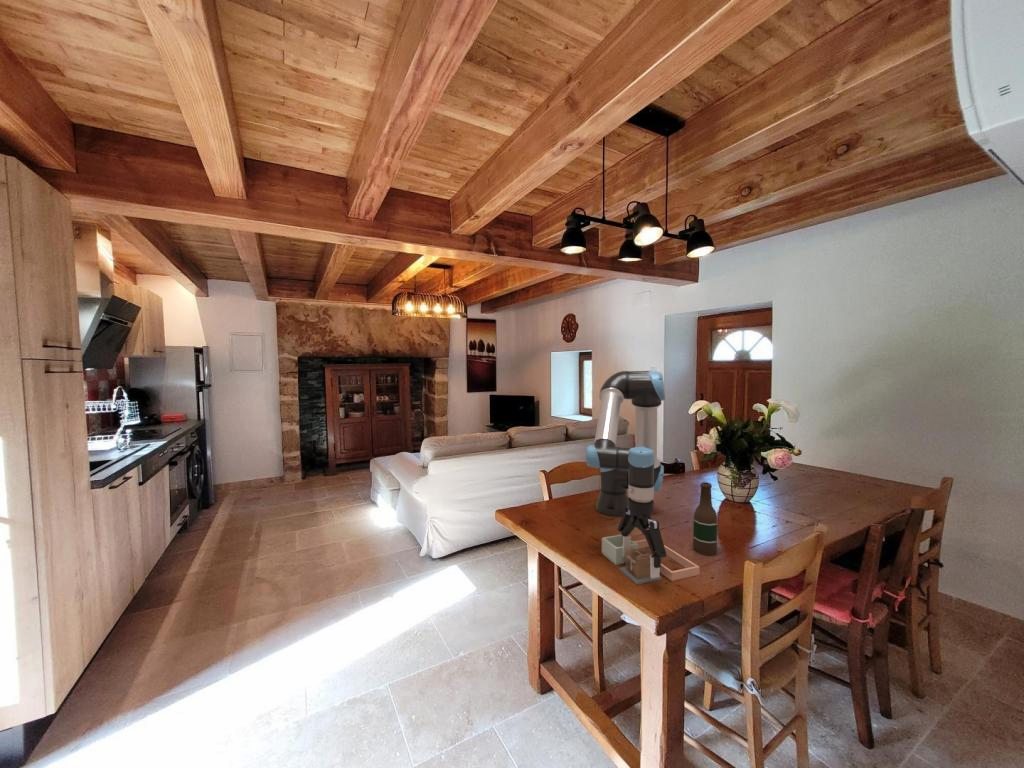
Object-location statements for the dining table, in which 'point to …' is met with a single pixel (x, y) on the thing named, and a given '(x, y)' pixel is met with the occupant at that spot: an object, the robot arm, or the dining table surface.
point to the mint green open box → (615, 549)
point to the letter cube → (638, 563)
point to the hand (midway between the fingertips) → (640, 565)
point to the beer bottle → (705, 523)
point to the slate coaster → (637, 581)
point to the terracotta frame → (677, 574)
